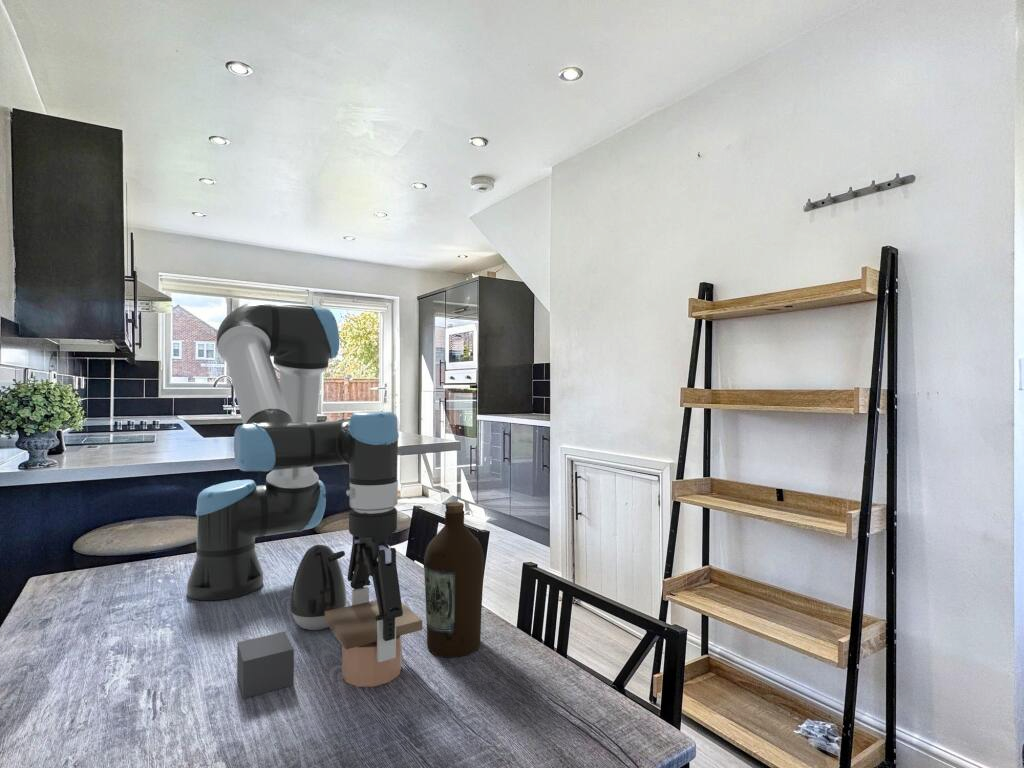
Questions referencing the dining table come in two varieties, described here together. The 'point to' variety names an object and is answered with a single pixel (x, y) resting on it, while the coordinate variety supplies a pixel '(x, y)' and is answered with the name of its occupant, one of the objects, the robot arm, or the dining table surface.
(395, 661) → the bowl
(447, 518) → the olive oil
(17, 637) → the dining table surface
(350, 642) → the lid
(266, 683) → the block
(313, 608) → the pump dispenser
